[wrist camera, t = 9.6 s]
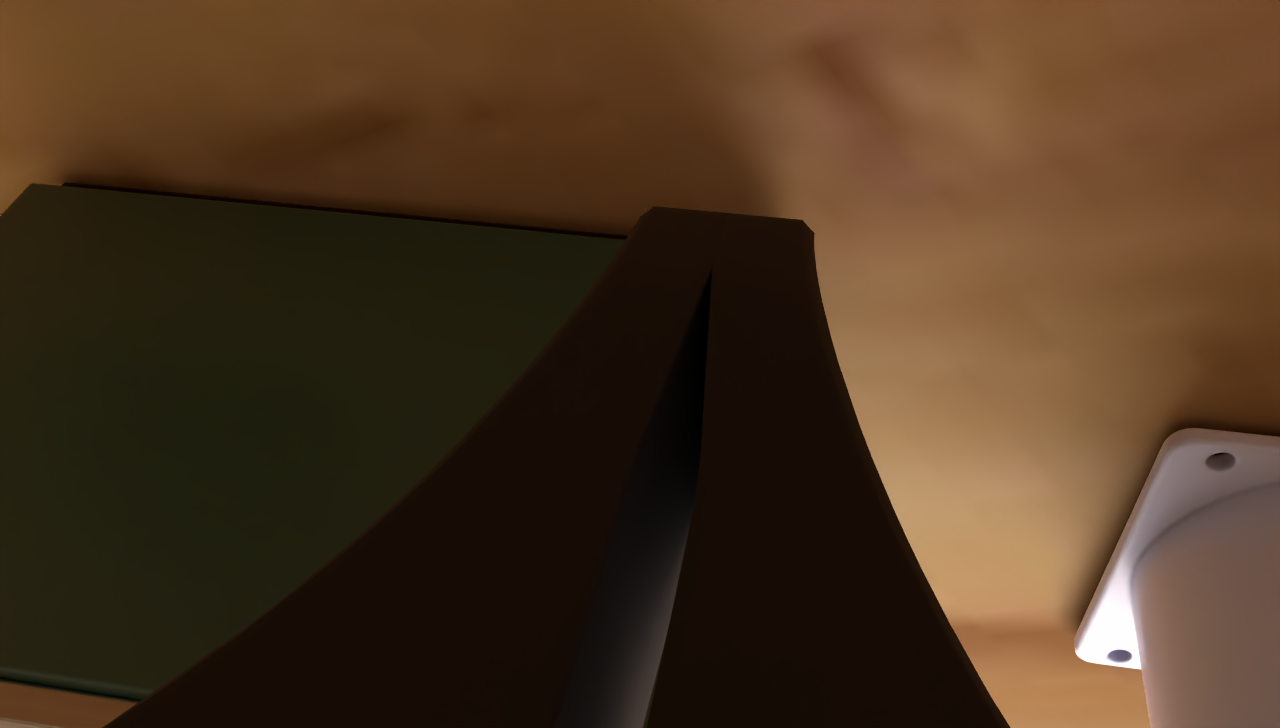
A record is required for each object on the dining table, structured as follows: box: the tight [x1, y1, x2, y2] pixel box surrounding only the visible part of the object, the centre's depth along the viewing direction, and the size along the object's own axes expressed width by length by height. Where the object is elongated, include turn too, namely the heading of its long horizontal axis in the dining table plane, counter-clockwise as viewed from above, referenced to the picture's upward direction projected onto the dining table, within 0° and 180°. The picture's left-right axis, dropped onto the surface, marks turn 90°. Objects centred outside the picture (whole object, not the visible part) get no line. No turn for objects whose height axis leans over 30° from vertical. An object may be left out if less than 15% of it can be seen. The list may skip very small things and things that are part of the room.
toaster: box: [0, 182, 666, 728], centre depth 21 cm, size 16×9×11 cm, turn 91°
